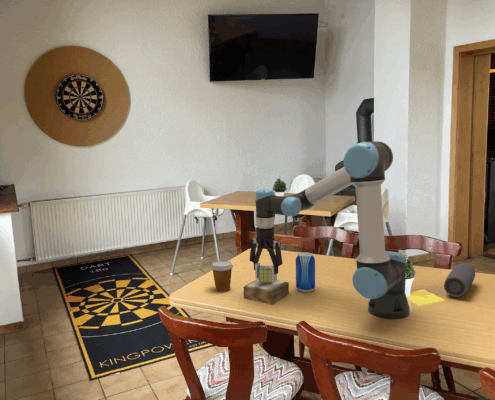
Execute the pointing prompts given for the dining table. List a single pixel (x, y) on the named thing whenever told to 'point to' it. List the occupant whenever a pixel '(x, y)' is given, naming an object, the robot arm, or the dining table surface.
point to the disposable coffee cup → (222, 275)
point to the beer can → (305, 272)
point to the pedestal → (266, 291)
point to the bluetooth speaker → (459, 280)
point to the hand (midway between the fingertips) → (266, 279)
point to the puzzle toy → (265, 273)
